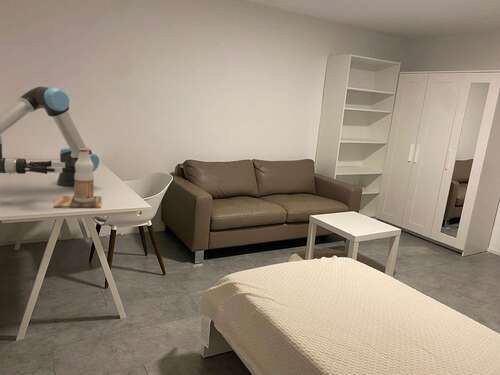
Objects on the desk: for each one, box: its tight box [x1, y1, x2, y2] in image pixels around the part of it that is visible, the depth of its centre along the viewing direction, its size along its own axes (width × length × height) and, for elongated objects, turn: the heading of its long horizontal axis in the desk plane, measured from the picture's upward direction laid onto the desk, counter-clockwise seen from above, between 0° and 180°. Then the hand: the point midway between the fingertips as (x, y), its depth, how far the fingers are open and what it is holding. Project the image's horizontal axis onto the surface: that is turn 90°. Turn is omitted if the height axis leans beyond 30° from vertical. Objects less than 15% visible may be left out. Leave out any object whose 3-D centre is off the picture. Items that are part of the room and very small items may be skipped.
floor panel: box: [53, 195, 102, 209], centre depth 202 cm, size 22×20×1 cm
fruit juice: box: [73, 149, 95, 203], centre depth 200 cm, size 9×9×28 cm
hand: (63, 167), depth 196 cm, fingers open, 13 cm apart
